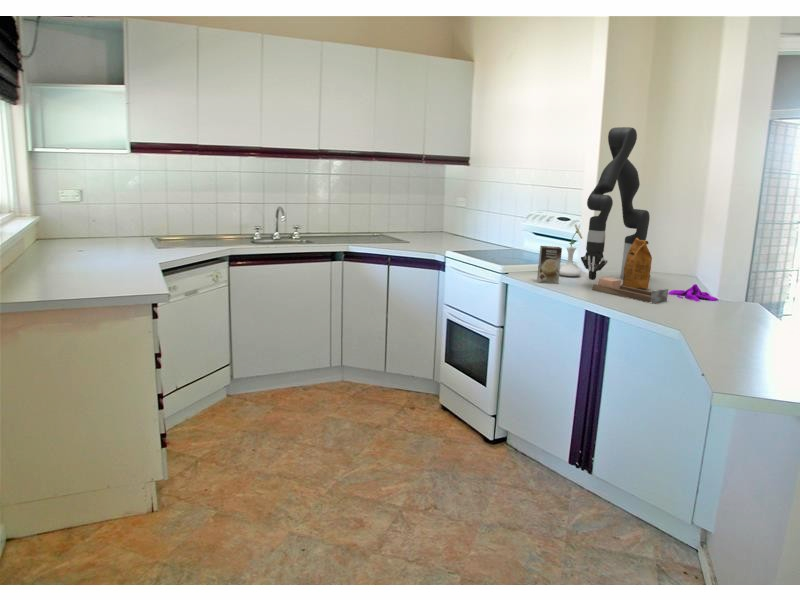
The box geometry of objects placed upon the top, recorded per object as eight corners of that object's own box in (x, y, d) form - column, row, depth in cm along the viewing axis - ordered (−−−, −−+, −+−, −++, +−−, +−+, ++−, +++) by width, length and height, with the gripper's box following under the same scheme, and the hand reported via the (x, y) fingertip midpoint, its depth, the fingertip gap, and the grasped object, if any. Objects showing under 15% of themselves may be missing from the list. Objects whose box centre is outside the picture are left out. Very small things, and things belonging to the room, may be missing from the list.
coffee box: (538, 282, 294) (541, 247, 290) (536, 279, 300) (539, 245, 296) (558, 283, 293) (562, 248, 289) (556, 281, 299) (560, 246, 296)
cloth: (661, 292, 285) (662, 278, 284) (703, 293, 285) (705, 280, 284) (682, 303, 263) (684, 288, 262) (728, 305, 263) (730, 290, 262)
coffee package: (640, 285, 296) (646, 237, 292) (650, 290, 284) (656, 241, 279) (619, 284, 296) (624, 236, 292) (628, 290, 284) (634, 240, 279)
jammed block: (605, 288, 285) (607, 277, 284) (619, 291, 279) (621, 280, 278) (597, 289, 281) (598, 278, 280) (611, 292, 276) (612, 281, 275)
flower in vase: (576, 278, 306) (581, 226, 301) (553, 275, 312) (557, 223, 307) (584, 275, 317) (590, 224, 312) (562, 272, 323) (567, 222, 318)
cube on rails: (605, 287, 287) (606, 276, 286) (666, 301, 264) (668, 289, 263) (592, 289, 281) (593, 278, 280) (653, 303, 259) (655, 291, 257)
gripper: (614, 242, 280) (609, 281, 284) (588, 238, 290) (584, 276, 294) (603, 243, 275) (599, 282, 279) (578, 239, 286) (574, 277, 289)
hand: (591, 279), depth 287 cm, fingers closed
